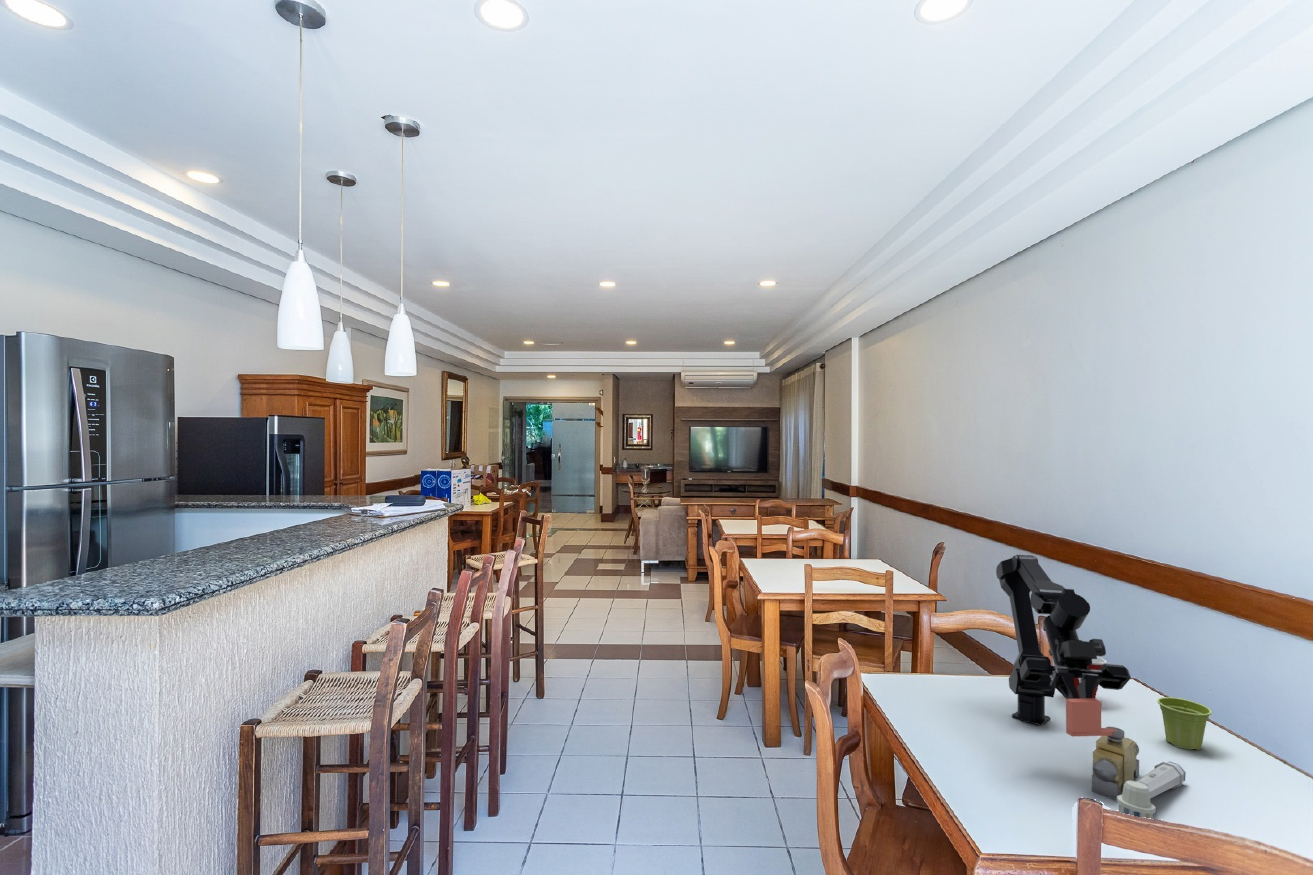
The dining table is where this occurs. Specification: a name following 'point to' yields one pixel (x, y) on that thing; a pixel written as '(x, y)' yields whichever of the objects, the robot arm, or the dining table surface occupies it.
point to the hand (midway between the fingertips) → (1085, 714)
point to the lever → (1087, 719)
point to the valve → (1114, 765)
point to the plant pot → (1184, 722)
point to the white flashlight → (1149, 789)
